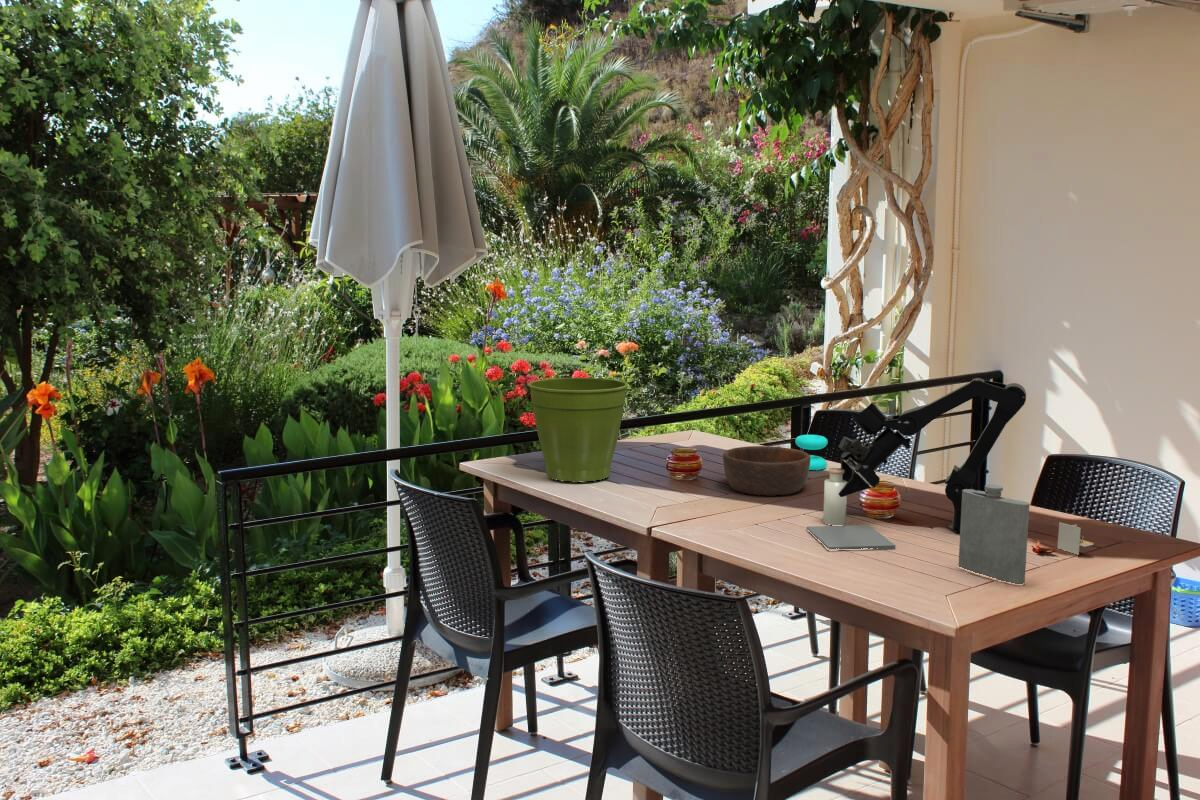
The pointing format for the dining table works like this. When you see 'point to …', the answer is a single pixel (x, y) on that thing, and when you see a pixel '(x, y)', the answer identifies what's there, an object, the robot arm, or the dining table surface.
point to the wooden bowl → (766, 469)
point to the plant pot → (578, 425)
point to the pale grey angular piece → (1070, 538)
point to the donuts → (813, 444)
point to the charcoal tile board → (850, 537)
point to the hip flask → (993, 534)
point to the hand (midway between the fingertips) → (835, 491)
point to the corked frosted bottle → (834, 498)
